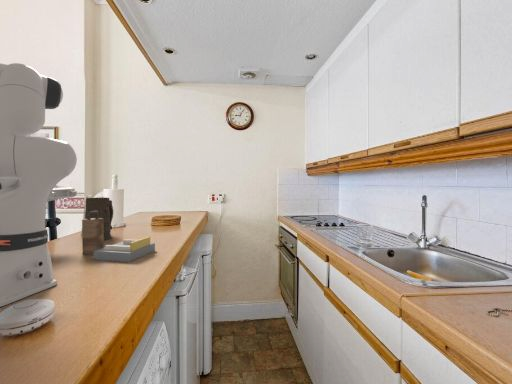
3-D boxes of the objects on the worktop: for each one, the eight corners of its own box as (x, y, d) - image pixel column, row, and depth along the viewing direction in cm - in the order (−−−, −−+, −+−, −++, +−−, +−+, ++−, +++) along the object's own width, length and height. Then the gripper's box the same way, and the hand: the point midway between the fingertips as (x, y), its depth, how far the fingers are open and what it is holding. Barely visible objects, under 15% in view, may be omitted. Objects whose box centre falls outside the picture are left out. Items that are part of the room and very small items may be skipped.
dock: (93, 259, 99) (93, 242, 99) (123, 248, 115) (123, 234, 115) (129, 261, 97) (129, 244, 96) (154, 250, 112) (154, 235, 112)
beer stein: (102, 241, 128) (103, 197, 129) (78, 241, 128) (80, 197, 129) (119, 237, 143) (120, 197, 144) (98, 237, 144) (99, 197, 144)
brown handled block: (94, 254, 106) (93, 212, 105) (82, 254, 107) (81, 211, 106) (104, 251, 111) (103, 210, 110) (92, 250, 112) (92, 210, 111)
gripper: (8, 185, 103) (40, 186, 100) (57, 184, 123) (85, 185, 120) (8, 203, 103) (40, 204, 100) (58, 199, 123) (85, 200, 120)
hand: (65, 194), depth 110 cm, fingers open, 8 cm apart
